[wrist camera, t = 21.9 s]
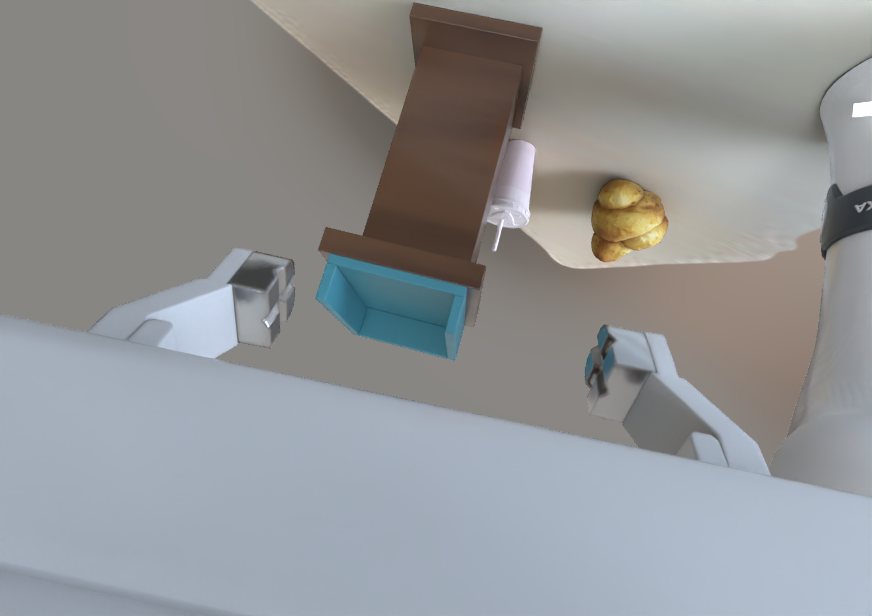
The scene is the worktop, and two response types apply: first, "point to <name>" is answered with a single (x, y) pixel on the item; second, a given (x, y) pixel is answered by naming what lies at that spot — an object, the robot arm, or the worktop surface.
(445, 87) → the stand
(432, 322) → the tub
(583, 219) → the worktop surface
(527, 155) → the smoothie
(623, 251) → the bread roll
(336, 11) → the worktop surface
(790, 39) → the worktop surface
